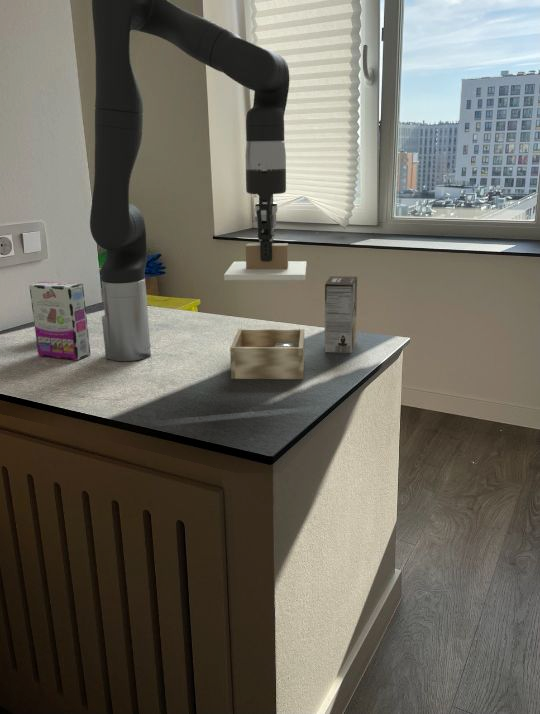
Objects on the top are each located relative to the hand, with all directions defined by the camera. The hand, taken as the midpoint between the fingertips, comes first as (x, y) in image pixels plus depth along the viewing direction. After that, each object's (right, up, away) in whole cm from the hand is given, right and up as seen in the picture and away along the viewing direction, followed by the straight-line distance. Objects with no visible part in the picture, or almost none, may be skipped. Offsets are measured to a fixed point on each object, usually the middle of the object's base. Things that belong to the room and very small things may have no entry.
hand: (267, 259), depth 125 cm
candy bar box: (-46, -19, +20) cm, 53 cm away
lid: (0, -3, +1) cm, 3 cm away
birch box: (0, -22, +7) cm, 23 cm away
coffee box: (+16, -18, +20) cm, 31 cm away
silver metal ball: (+4, -20, +9) cm, 23 cm away
